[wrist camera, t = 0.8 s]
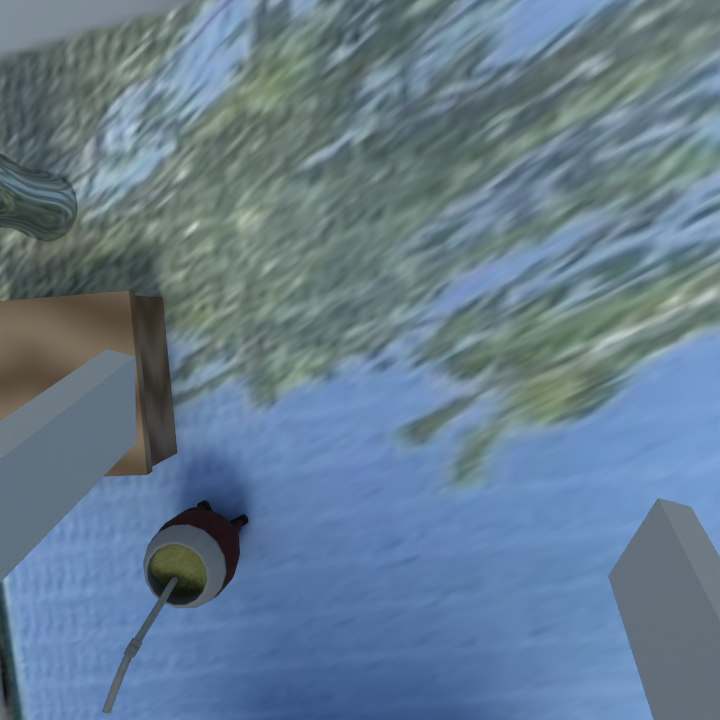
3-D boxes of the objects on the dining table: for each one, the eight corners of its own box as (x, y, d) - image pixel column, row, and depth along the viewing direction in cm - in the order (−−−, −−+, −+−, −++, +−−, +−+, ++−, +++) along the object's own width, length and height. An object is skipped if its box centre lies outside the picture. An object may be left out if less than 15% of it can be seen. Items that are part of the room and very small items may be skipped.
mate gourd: (233, 481, 46) (142, 557, 31) (273, 558, 46) (202, 672, 31) (164, 515, 47) (44, 605, 32) (204, 591, 47) (103, 716, 32)
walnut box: (182, 455, 46) (147, 474, 40) (36, 461, 48) (-18, 480, 42) (167, 294, 45) (128, 290, 39) (18, 306, 47) (-40, 304, 41)
